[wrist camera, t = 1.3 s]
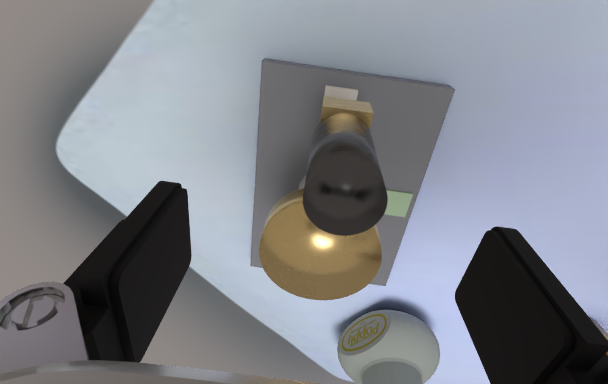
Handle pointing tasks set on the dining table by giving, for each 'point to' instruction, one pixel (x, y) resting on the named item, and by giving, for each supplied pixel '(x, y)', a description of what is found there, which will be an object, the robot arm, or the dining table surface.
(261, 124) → the post base
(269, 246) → the brass knob with handle
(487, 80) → the dining table surface
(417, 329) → the air freshener
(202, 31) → the dining table surface
